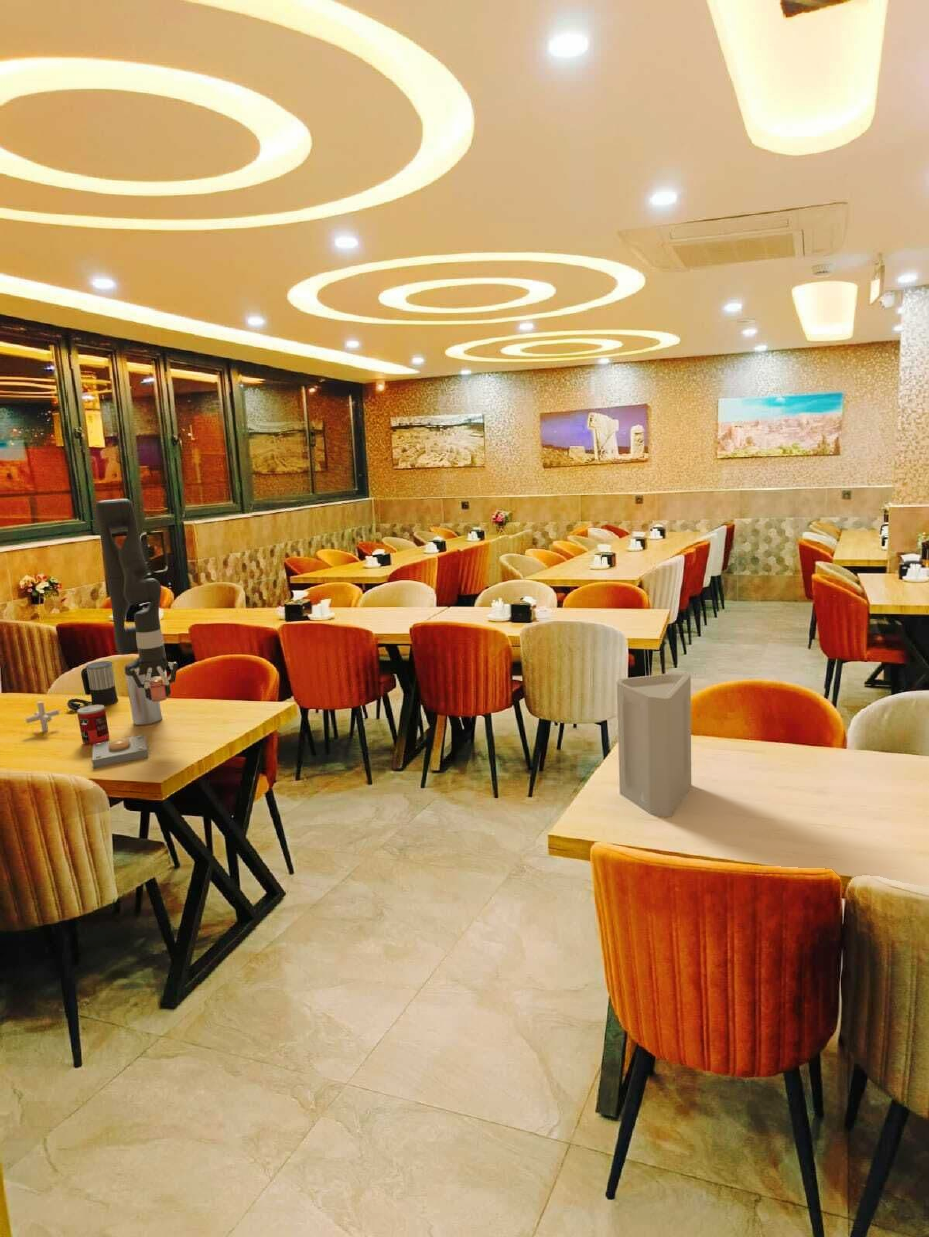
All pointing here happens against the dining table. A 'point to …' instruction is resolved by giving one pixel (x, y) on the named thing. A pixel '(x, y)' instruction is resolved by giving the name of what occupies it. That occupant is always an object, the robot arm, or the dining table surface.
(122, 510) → the robot arm
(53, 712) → the pipe connector
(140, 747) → the square plate with knob
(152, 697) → the orange rounded knob
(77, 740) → the dining table surface
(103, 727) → the canned food
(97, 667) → the milk frother
